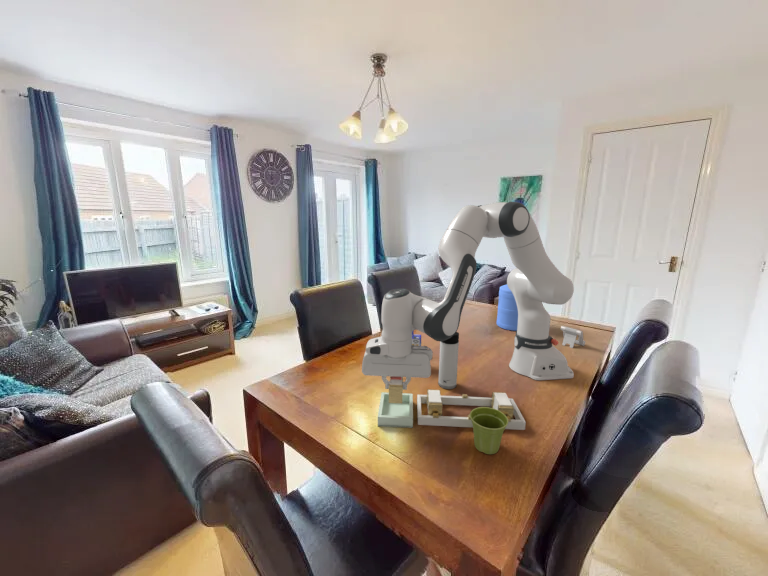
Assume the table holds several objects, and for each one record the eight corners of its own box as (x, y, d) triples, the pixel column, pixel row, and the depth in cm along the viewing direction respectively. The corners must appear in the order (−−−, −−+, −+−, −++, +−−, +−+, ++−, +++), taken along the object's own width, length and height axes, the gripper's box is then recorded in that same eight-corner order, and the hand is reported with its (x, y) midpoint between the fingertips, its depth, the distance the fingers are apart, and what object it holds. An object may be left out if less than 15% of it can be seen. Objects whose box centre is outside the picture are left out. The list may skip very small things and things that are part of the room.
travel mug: (446, 391, 111) (449, 336, 106) (434, 382, 117) (436, 330, 112) (460, 387, 114) (463, 333, 109) (448, 378, 119) (451, 327, 115)
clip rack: (512, 405, 103) (513, 396, 102) (525, 430, 91) (526, 419, 91) (417, 401, 105) (417, 392, 105) (417, 424, 94) (418, 414, 93)
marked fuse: (402, 389, 102) (403, 370, 100) (402, 404, 93) (402, 384, 92) (390, 388, 102) (390, 370, 100) (388, 404, 94) (388, 384, 92)
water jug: (532, 331, 166) (538, 277, 160) (501, 331, 167) (506, 277, 160) (520, 321, 182) (525, 272, 175) (492, 321, 182) (496, 272, 175)
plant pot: (461, 437, 89) (463, 409, 87) (492, 432, 91) (495, 404, 89) (478, 462, 80) (481, 431, 78) (512, 456, 82) (516, 426, 80)
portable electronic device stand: (584, 345, 149) (587, 328, 147) (577, 349, 145) (579, 332, 143) (565, 339, 156) (567, 323, 154) (557, 343, 151) (559, 326, 149)
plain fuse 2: (503, 408, 102) (505, 391, 100) (511, 425, 93) (513, 407, 92) (491, 408, 102) (492, 390, 100) (498, 425, 94) (499, 406, 92)
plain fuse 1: (439, 405, 103) (439, 388, 102) (441, 422, 95) (442, 404, 94) (426, 405, 103) (427, 388, 102) (428, 421, 95) (428, 403, 94)
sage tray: (412, 401, 105) (412, 393, 104) (412, 428, 92) (412, 418, 92) (381, 400, 106) (381, 392, 105) (377, 426, 93) (377, 417, 92)
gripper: (432, 342, 96) (430, 384, 99) (363, 339, 98) (364, 381, 101) (433, 350, 90) (431, 395, 93) (360, 348, 92) (361, 392, 95)
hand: (396, 388), depth 97 cm, fingers closed on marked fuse, 3 cm apart
